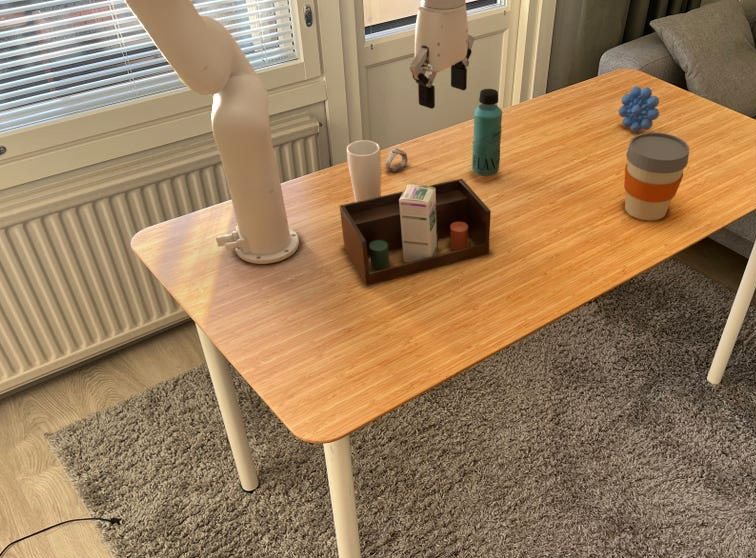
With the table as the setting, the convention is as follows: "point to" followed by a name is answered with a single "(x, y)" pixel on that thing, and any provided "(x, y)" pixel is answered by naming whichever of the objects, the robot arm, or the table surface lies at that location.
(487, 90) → the beverage bottle
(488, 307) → the table surface
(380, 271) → the spice rack
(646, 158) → the reusable coffee cup
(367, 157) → the drinking glass
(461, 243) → the salmon pink cylinder
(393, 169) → the wristwatch
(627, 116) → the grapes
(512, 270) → the table surface
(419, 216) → the syrup box
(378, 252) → the green spice tin
